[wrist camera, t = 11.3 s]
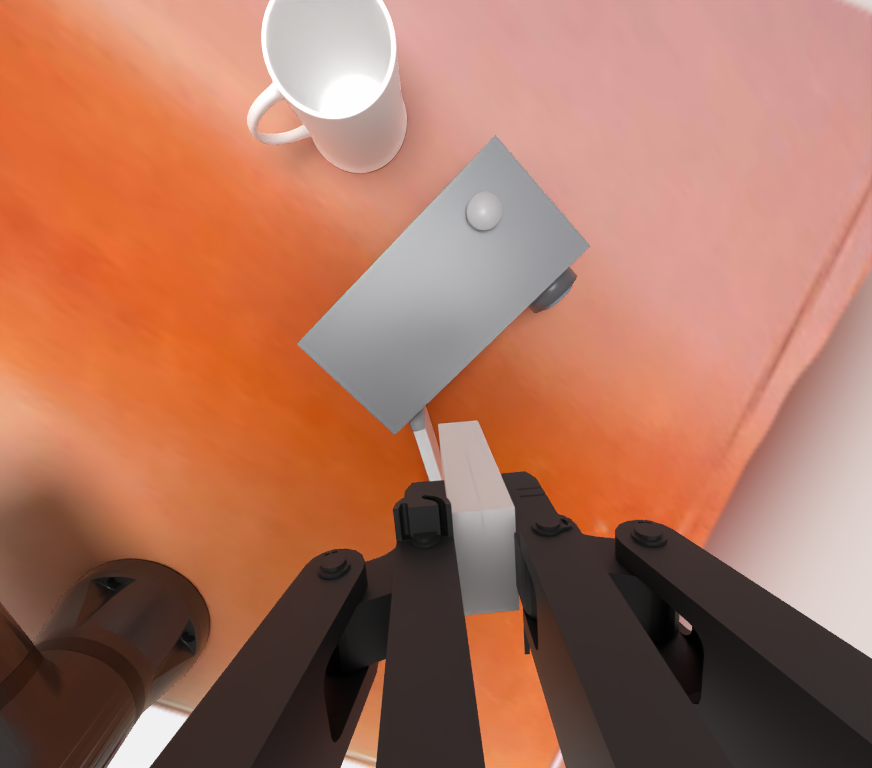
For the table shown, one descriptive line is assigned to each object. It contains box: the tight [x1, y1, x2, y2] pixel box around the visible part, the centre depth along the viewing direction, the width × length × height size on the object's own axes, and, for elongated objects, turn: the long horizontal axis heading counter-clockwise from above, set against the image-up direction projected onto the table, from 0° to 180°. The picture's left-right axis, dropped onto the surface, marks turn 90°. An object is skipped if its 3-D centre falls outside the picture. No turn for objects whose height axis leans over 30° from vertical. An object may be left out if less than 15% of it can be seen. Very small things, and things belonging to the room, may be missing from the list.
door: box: [410, 406, 443, 481], centre depth 40 cm, size 12×2×8 cm, turn 16°
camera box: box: [297, 135, 590, 435], centre depth 36 cm, size 20×12×11 cm, turn 135°
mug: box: [247, 0, 407, 173], centre depth 32 cm, size 12×8×12 cm
